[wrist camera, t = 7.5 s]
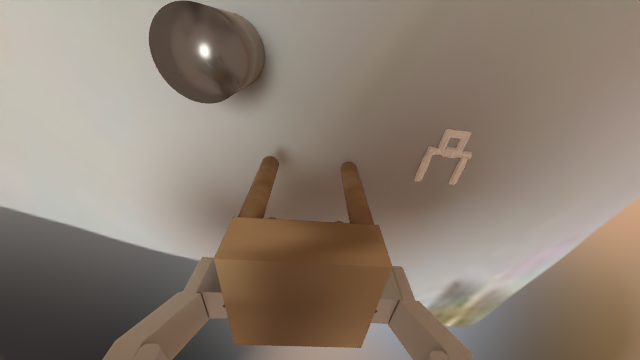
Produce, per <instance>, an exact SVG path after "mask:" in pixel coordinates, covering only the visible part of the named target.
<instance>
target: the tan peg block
mask: <svg viewBox="0 0 640 360" xmlns="http://www.w3.org/2000/svg"><path fill="white" fill-rule="evenodd" d="M278 166H279V162H278V160H277V159H276V158H274V157H271V156H268V157H265V158H264V159H263V161H262V163H261V166H260V168H259V170H258V172H257V175H256V177H255V179H254V181H253V184H252V186H251V188H250V191H249V193H248V195H247V197H246V200H245V202H244V204H243V206H242V209H241V211H240V213H239V215H238V217H233V219H232V221H231V223H230V225H229V227H228V229H227V232H226V234H225V236H224V238H223V240H222V242H221V244H220V247H219V249H218V251H217V253H216V255H215V257H214V262H215V266H216V270H217V274H218V279H219V283H220V287H221V291H222V295H223V300H224V304H225V308H226V312H227V316H228V321H229V324H230V329H231V333H232V337H233V342H234V344H235V345H272V346H312V347H353V348H361V346H362V344H363V341H364V339H365V336H366V334H367V331H368V328H369V326H370V323H371V321H372V318H373V316H374V313H375V311H376V308H377V305H378V303H379V300H380V298H381V295H382V293H383V290H384V287H385V285H386V282H387V280H388V277H389V275H390V272H391V269H392V264H391V261H390V258H389V255H388V252H387V249H386V246H385V243H384V240H383V237H382V234H381V231H380V228H379V225H374V223H373V219H372V216H371V213H370V210H369V206H368V203H367V200H366V197H365V193H364V190H363V187H362V184H361V180H360V177H359V174H358V171H357V167H356V165H355V164H354V163H352V162H346V163H344V164H343V165H342V166H341V169H340V170H341V176H342V181H343V187H344V193H345V198H346V204H347V209H348V215H349V220H350V224H349V223H343V222H341V221H337V222H334V223H332V222H314V221H296V220H278V219H276V218H273V217H271V218H268V219H263V217H264V213H265V210H266V207H267V203H268V200H269V197H270V193H271V190H272V187H273V183H274V180H275V176H276V173H277V170H278Z"/></svg>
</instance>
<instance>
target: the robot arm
mask: <svg viewBox="0 0 640 360" xmlns="http://www.w3.org/2000/svg"><path fill="white" fill-rule="evenodd" d="M209 318H228V316H227V312H226V308H225V304H224V300H223V295H222V291H221V287H220V283H219V279H218V274H217V270H216V266H215V262H214V258H208V257H203V258H202V259H201V260H200V261H199V263H198V265H197V267H196V268H195V270H194V272H193V274H192V276H191V278H190V279H189V282H188V283H187V285H186V287H185V289H184V291H183V292H179V293H177V294H176V295H175V296H173V297H172V298H171V299H169V300H168V301H167V302H165V303H164V304H163V305H162V306H160V307H159V308H158V309H156V310H155V311H154V312H152V313H151V314H150V315H149V316H147V317H146V318H145V319H143V320H142V321H141V322H139V323H138V324H137V325H136V326H134V327H133V328H132V329H130V330H129V331H128V332H127V333H125V334H124V335H123V336H121V337H120V338H119V339H117V340H116V341H115V342H114V344H113V345H112V347H111V348H110V350H109V351H108V353H107V354H106V356H105V357H104V359H103V360H172V359H173V358H174V357H175V356H176V355H177V354H178V353H179V351H180V350H181V349H182V348H183V347H184V346H185V345H186V344H187V342H189V341H190V339H191V338H192V337H193V336H194V335H195V334H196V333H197V332H198V331H199V329H201V327H202V326H203V325H204V324H205V323H206V322H207V321H208V320H209ZM371 323H383V324H388V325H389V327H390V328H391V329H392V331H393V332H394V333H395V335H396V336H397V338H398V339H399V341H400V342H401V343H402V345H403V346H404V348H405V349H406V350H407V352H408V353H409V354H410V356H411V357H412V359H413V360H474V359H473V357H472V355H471V353H470V351H469V350H468V349H467V348H466V347H465V346H464V345H463V344H462V343H461V342H460V341H459V340H458V339H457V338H456V337H455V336H454V335H453V334H452V333H451V332H450V331H449V330H448V329H447V328H446V327H445V326H444V325H443V324H442V323H441V322H440V321H439V320H438V319H437V318H436V317H435V316H434V315H433V314H431V313H430V312H429V311H428V310H427V309H426V308H425V307H424V306H423V305H422V304H421V303H420V302H419V301H415V298H414V296H413V293H412V290H411V288H410V285H409V283H408V280H407V277H406V275H405V272H404V270H403V268H402V267H400V266H392V269H391V272H390V275H389V277H388V280H387V282H386V285H385V287H384V290H383V293H382V295H381V298H380V300H379V303H378V305H377V308H376V311H375V313H374V316H373V318H372V321H371Z"/></svg>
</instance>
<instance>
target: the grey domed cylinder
mask: <svg viewBox="0 0 640 360" xmlns="http://www.w3.org/2000/svg"><path fill="white" fill-rule="evenodd" d="M149 45H150V51H151V55H152V58H153V60H154V63H155V65H156V67H157V69H158V71H159V72H160V74H161V75H162V77H163V78H164V79H165V80H166V82H167V83H168V84H169V85H170V86H171V87H172V88H173V89H175V90H176V91H177V92H178V93H180V94H181V95H183V96H185V97H186V98H188V99H191V100H193V101H196V102H200V103H217V102H221V101H223V100H225V99H227V98H229V97H230V96H232V95H233V94H235V93H236V92H238V91H239V90H241V89H242V88H244V87H245V86H247V85H248V84H250V83H251V82H253V81H254V80H255V79H256V78H257V77H258V76H259V75H260V73H261V72H262V69H263V67H264V62H265V50H264V45H263V42H262V39H261V37H260V35H259V33H258V32H257V30H256V29H255V28H254V26H253V25H252V24H251V23H250V22H249V21H247V20H246V19H245V18H243V17H241V16H239V15H237V14H234V13H230V12H227V11H224V10H220V9H217V8H213V7H210V6H206V5H203V4H200V3H196V2H192V1H175V2H172V3H169V4H167V5H165V6H164V7H162V8H161V9H160V10H159V11H158V12H157V14H156V15H155V17H154V18H153V20H152V23H151V26H150V31H149Z"/></svg>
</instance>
